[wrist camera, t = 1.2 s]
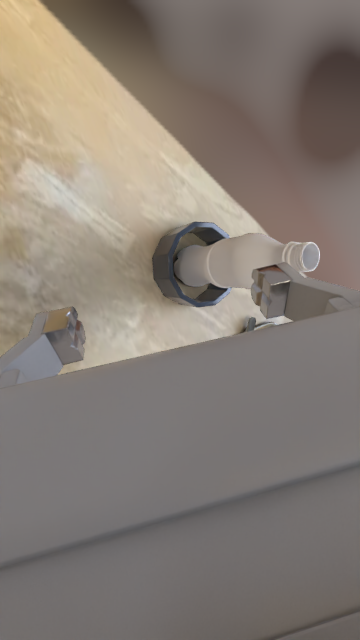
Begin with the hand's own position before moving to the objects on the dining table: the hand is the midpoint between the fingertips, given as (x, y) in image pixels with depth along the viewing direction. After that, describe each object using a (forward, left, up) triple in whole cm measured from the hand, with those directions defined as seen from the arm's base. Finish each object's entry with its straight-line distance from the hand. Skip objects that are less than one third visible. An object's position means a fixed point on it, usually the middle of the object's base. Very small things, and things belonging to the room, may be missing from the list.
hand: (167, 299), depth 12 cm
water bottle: (+8, +19, -32) cm, 38 cm away
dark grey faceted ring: (+8, +19, -32) cm, 38 cm away
